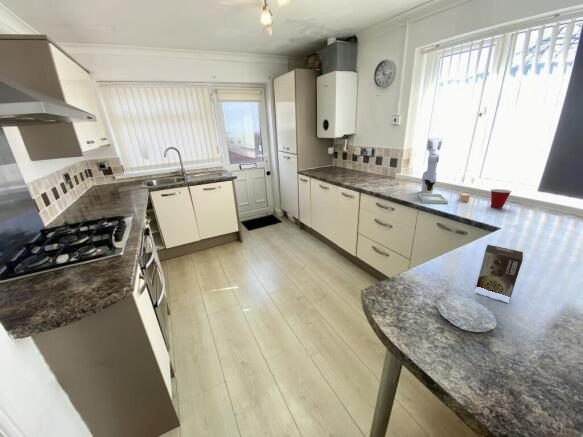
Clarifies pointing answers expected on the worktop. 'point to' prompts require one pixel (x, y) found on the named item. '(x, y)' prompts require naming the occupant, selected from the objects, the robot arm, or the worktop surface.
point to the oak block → (428, 191)
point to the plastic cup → (499, 197)
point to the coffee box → (499, 270)
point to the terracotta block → (464, 197)
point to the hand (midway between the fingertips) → (428, 189)
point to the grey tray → (432, 198)
